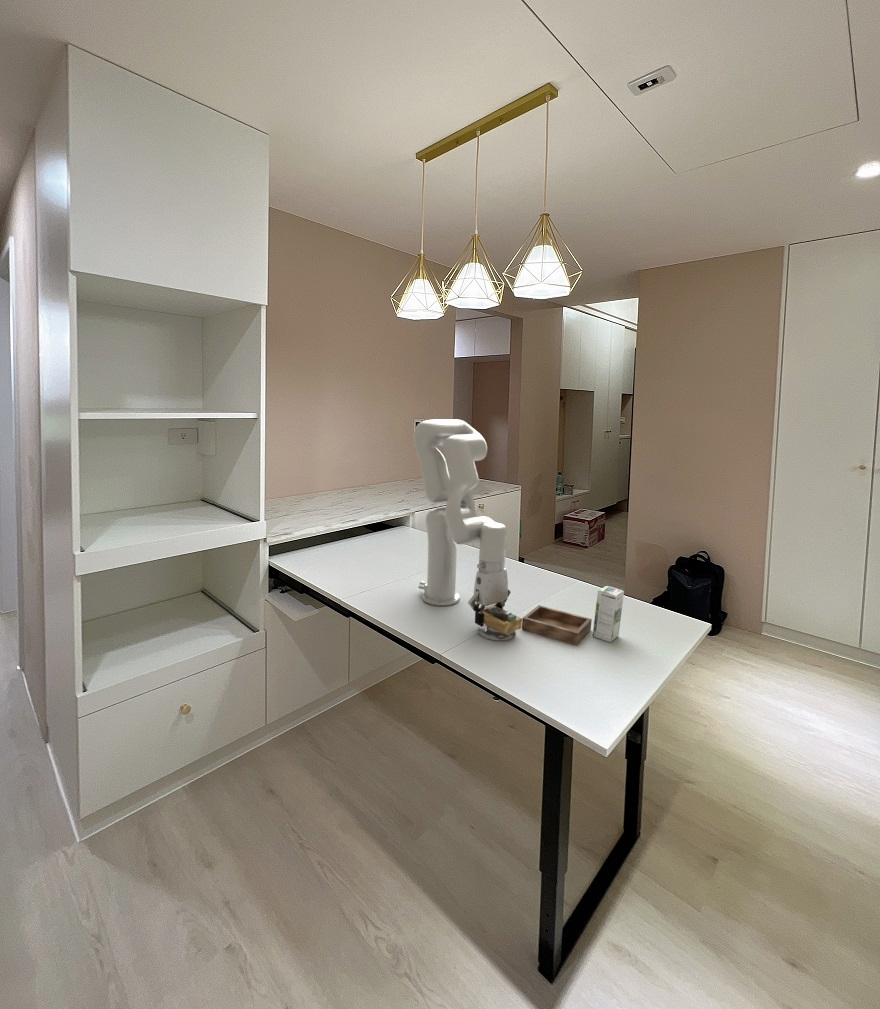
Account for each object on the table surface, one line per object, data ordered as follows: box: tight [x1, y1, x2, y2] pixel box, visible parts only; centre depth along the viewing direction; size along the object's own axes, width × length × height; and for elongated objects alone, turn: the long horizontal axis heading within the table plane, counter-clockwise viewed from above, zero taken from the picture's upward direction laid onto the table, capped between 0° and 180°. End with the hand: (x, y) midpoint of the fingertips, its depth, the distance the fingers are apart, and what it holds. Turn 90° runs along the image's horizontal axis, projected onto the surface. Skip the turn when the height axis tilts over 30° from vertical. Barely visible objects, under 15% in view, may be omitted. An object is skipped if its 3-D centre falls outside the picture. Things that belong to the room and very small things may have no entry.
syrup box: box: [592, 585, 625, 643], centre depth 155 cm, size 6×6×14 cm
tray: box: [521, 604, 593, 646], centre depth 159 cm, size 17×12×4 cm
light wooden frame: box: [483, 604, 523, 634], centre depth 156 cm, size 7×12×4 cm, turn 37°
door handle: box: [477, 607, 517, 642], centre depth 156 cm, size 11×11×7 cm
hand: (488, 621), depth 160 cm, fingers closed on light wooden frame, 7 cm apart
